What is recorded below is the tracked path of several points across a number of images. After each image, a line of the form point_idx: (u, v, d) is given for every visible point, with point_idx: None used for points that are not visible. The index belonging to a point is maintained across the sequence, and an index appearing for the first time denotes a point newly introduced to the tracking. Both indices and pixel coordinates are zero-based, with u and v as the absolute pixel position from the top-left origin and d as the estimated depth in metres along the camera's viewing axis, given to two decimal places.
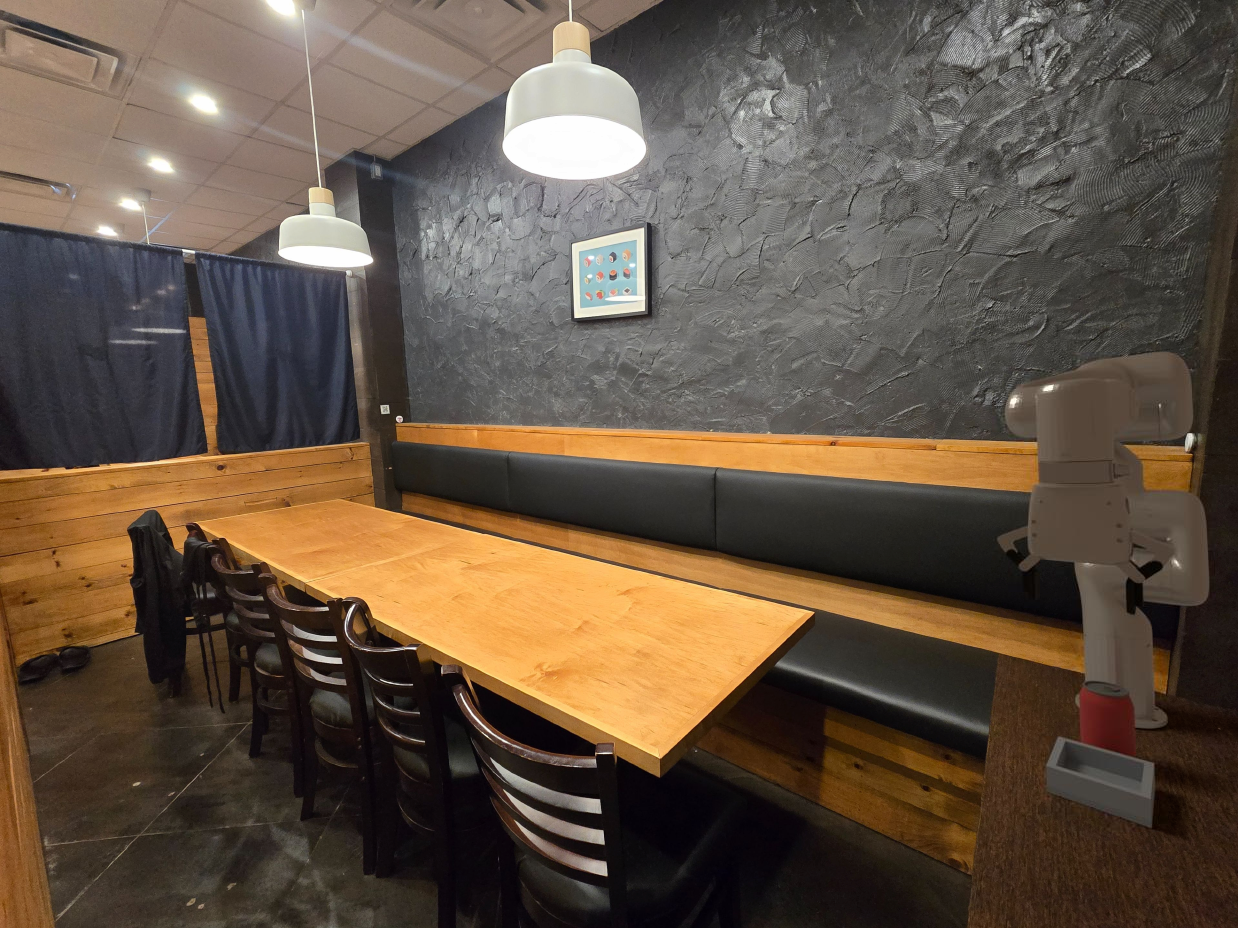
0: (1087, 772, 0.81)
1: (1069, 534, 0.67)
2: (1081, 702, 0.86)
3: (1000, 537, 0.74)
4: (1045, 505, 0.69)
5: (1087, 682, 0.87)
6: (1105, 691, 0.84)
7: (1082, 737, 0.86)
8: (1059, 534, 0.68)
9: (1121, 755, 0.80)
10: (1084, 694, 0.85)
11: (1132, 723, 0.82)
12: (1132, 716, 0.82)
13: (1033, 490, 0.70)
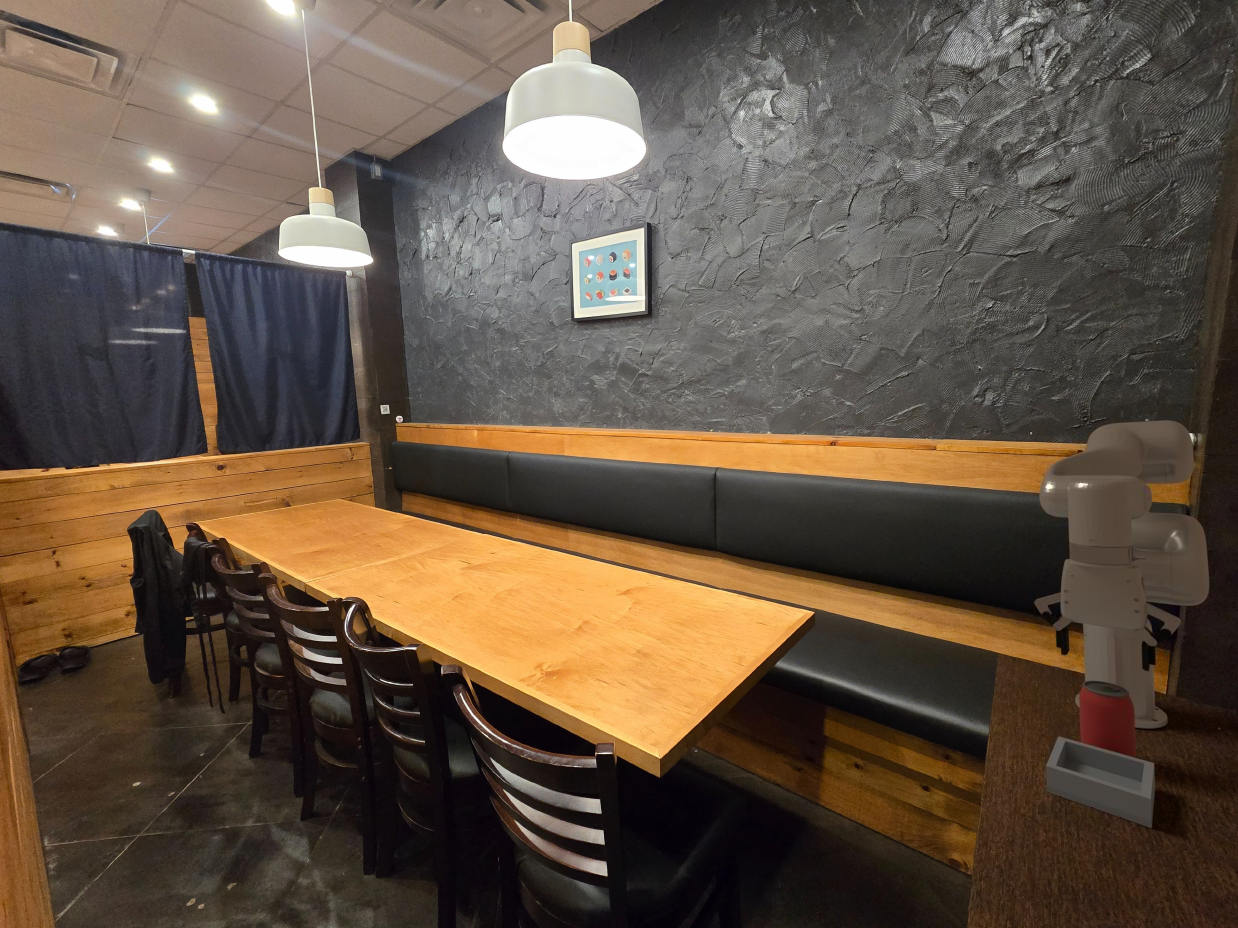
0: (1087, 772, 0.81)
1: (1095, 603, 0.83)
2: (1081, 702, 0.86)
3: (1037, 601, 0.90)
4: (1075, 579, 0.85)
5: (1087, 682, 0.87)
6: (1105, 691, 0.84)
7: (1082, 737, 0.86)
8: (1087, 603, 0.84)
9: (1121, 755, 0.80)
10: (1084, 694, 0.85)
11: (1132, 723, 0.82)
12: (1132, 716, 0.82)
13: (1065, 565, 0.86)
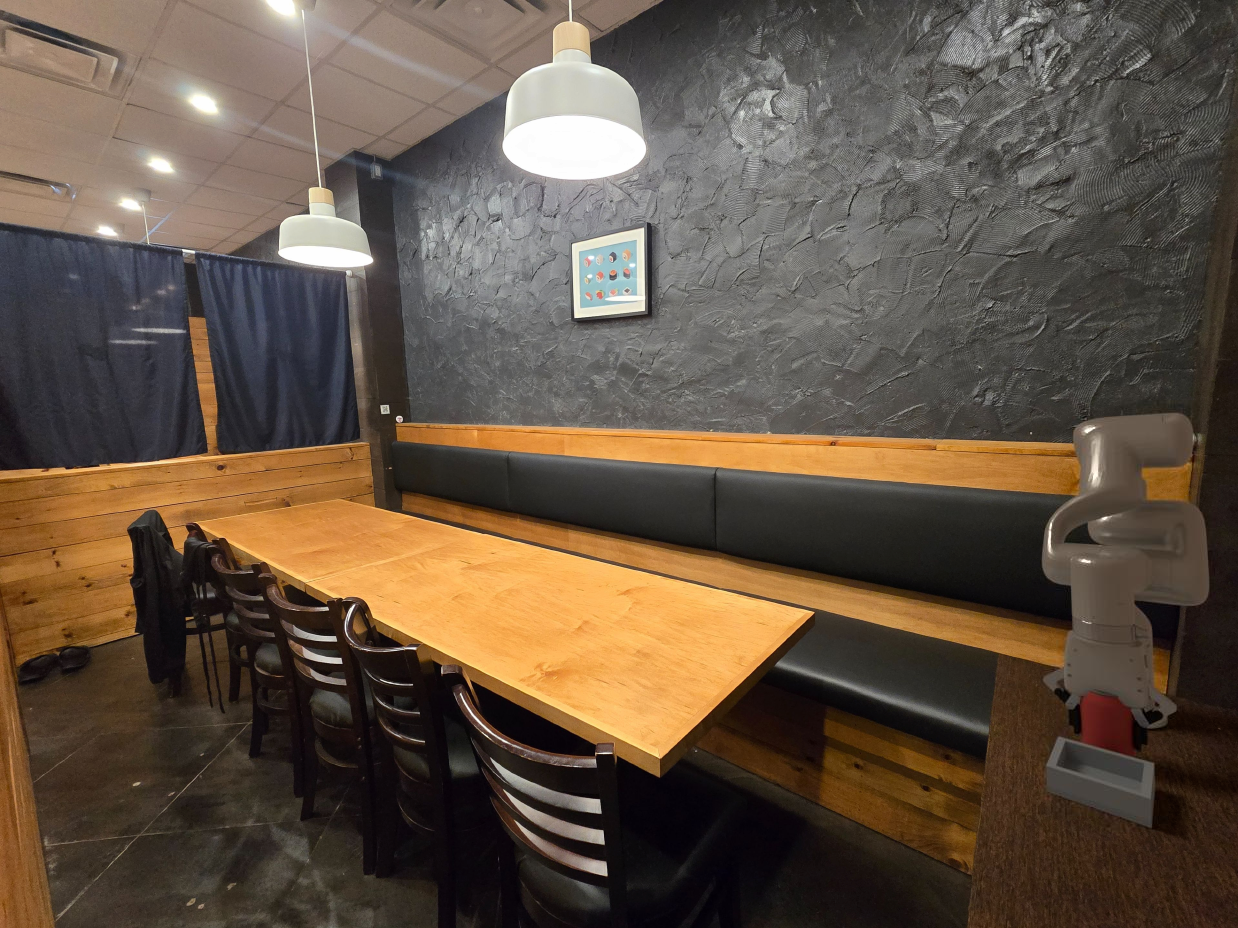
0: (1087, 772, 0.81)
1: (1098, 679, 0.83)
2: (1081, 702, 0.86)
3: (1045, 678, 0.90)
4: (1078, 653, 0.85)
5: None
6: None
7: (1082, 737, 0.86)
8: (1090, 678, 0.84)
9: (1121, 755, 0.80)
10: None
11: (1132, 723, 0.82)
12: (1132, 716, 0.82)
13: (1068, 638, 0.87)
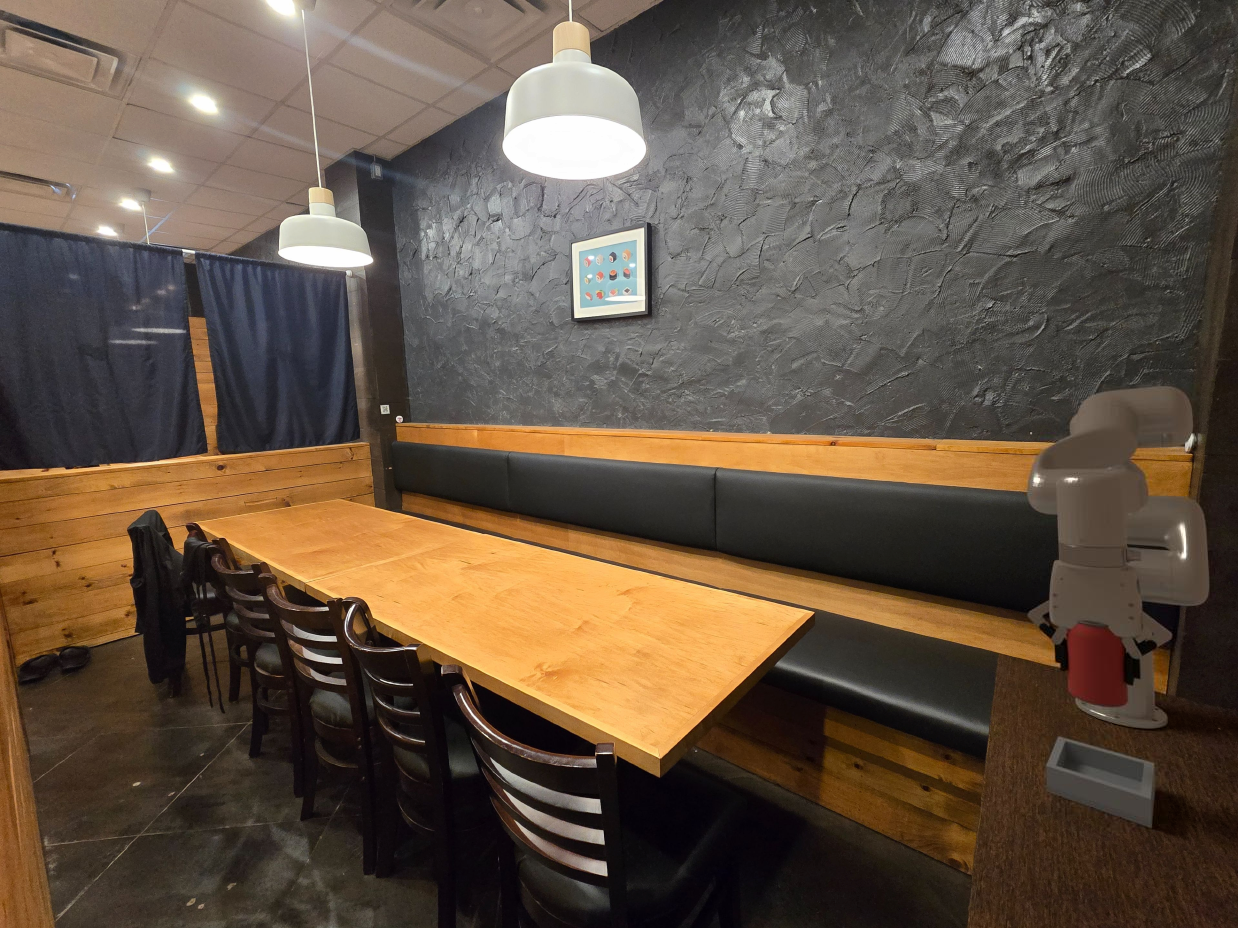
0: (1087, 772, 0.81)
1: (1087, 609, 0.76)
2: (1068, 636, 0.78)
3: (1029, 613, 0.83)
4: (1065, 582, 0.78)
5: None
6: None
7: (1069, 674, 0.79)
8: (1078, 608, 0.77)
9: (1121, 755, 0.80)
10: None
11: (1123, 655, 0.74)
12: (1123, 647, 0.74)
13: (1054, 567, 0.79)
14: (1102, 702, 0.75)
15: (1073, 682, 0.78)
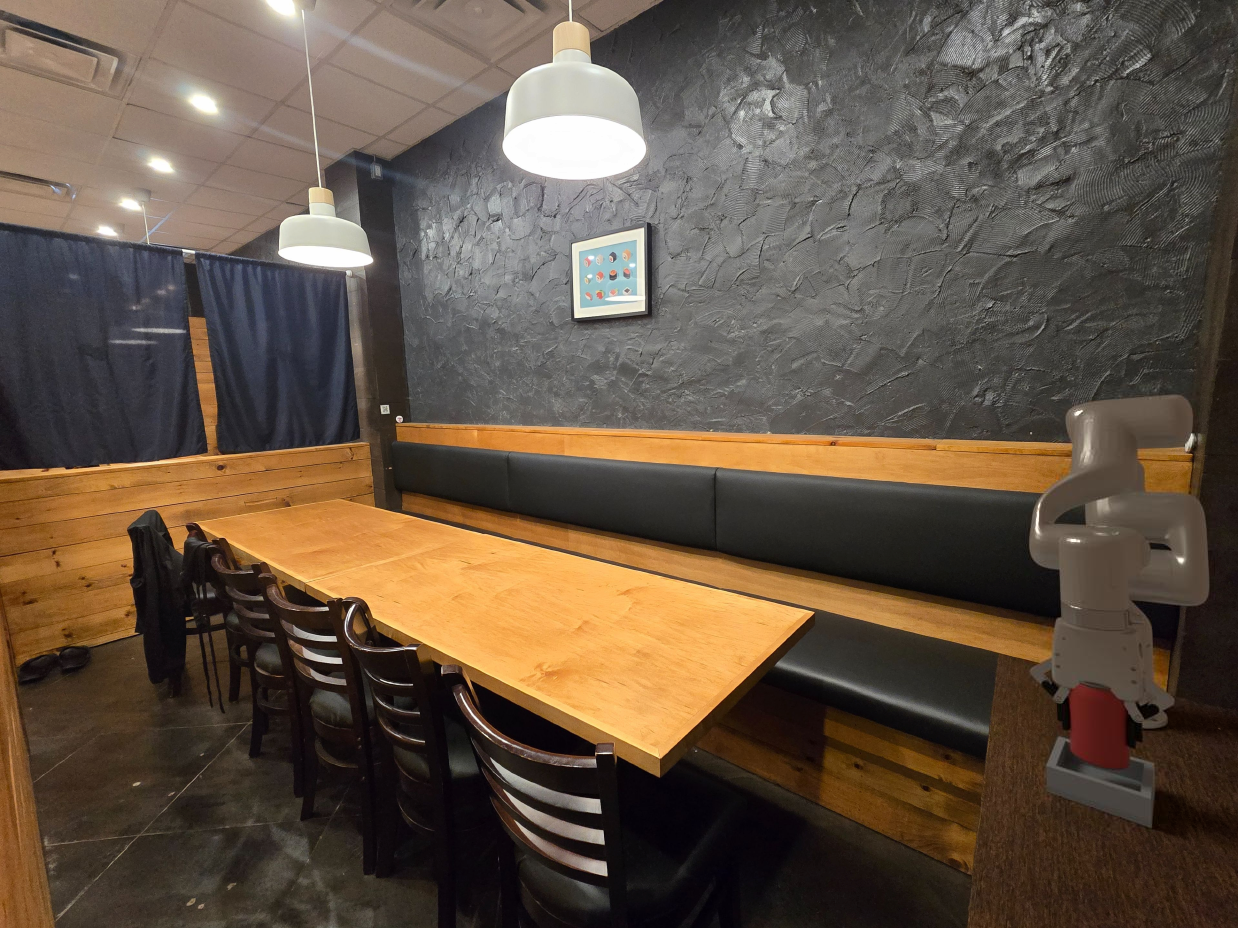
0: (1087, 772, 0.81)
1: (1089, 670, 0.76)
2: (1070, 695, 0.79)
3: (1032, 670, 0.83)
4: (1067, 642, 0.78)
5: None
6: None
7: (1071, 734, 0.79)
8: (1080, 669, 0.77)
9: None
10: None
11: (1125, 718, 0.75)
12: (1125, 710, 0.75)
13: (1056, 626, 0.80)
14: (1104, 765, 0.75)
15: (1075, 742, 0.78)
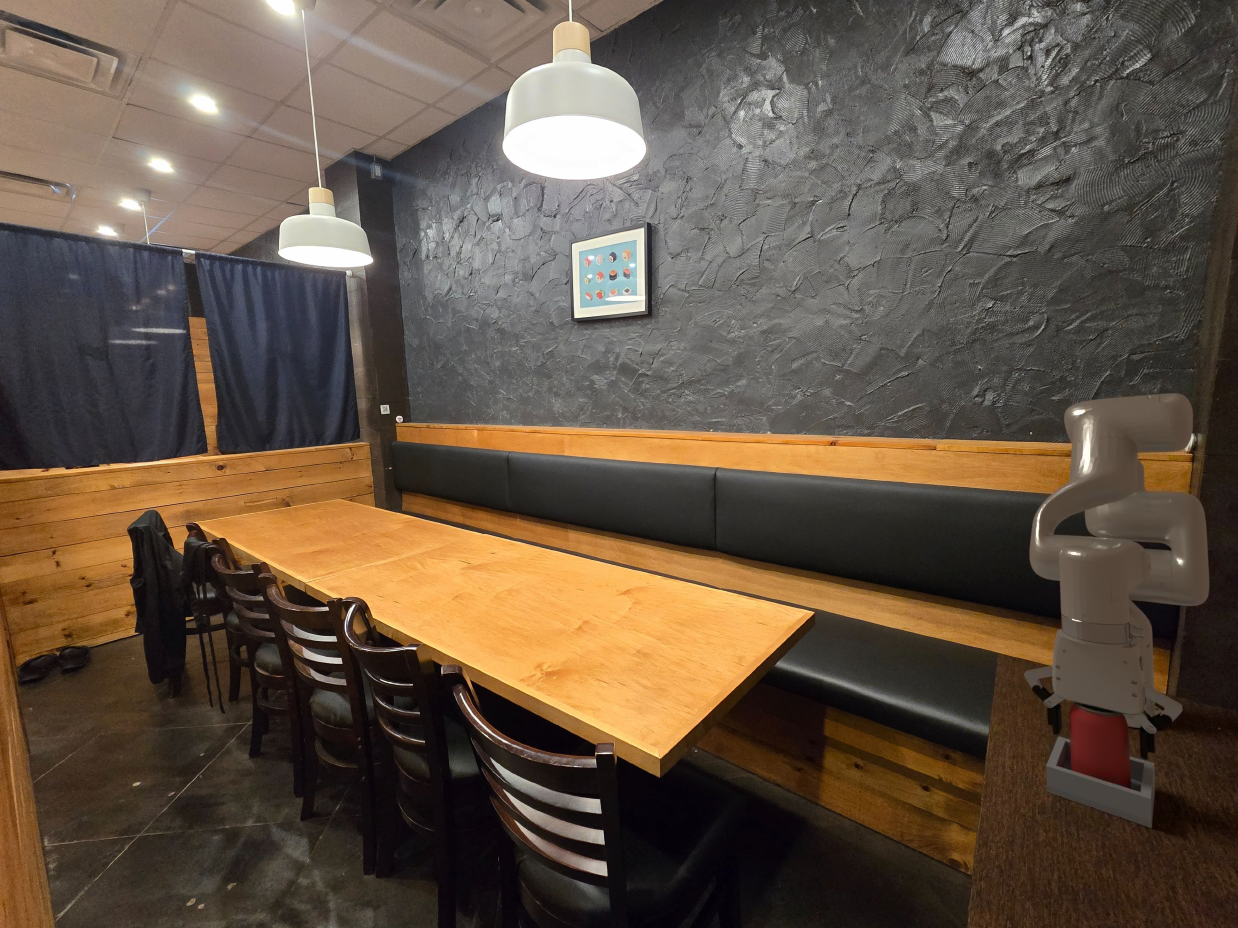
0: None
1: (1089, 683, 0.76)
2: (1071, 720, 0.79)
3: (1027, 673, 0.83)
4: (1068, 654, 0.78)
5: None
6: (1097, 708, 0.77)
7: (1072, 758, 0.79)
8: (1080, 682, 0.77)
9: None
10: (1074, 711, 0.78)
11: (1126, 744, 0.75)
12: (1126, 736, 0.75)
13: (1057, 638, 0.80)
14: None
15: (1076, 767, 0.78)
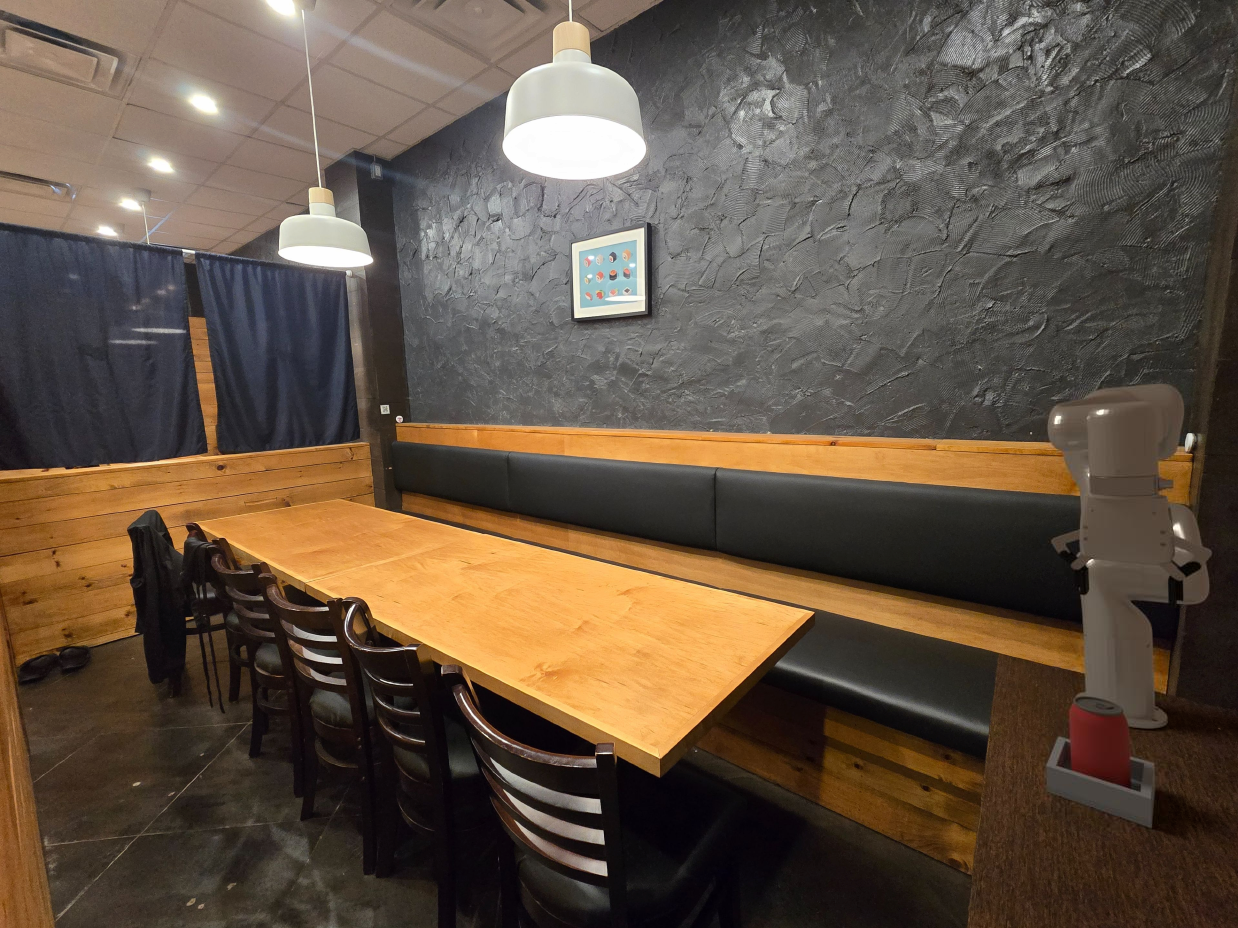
0: None
1: (1117, 538, 0.77)
2: (1071, 720, 0.79)
3: (1054, 540, 0.85)
4: (1095, 513, 0.79)
5: (1078, 698, 0.80)
6: (1097, 708, 0.77)
7: (1072, 758, 0.79)
8: (1108, 539, 0.78)
9: None
10: (1074, 711, 0.78)
11: (1126, 744, 0.75)
12: (1126, 736, 0.75)
13: (1085, 500, 0.80)
14: None
15: (1076, 767, 0.78)
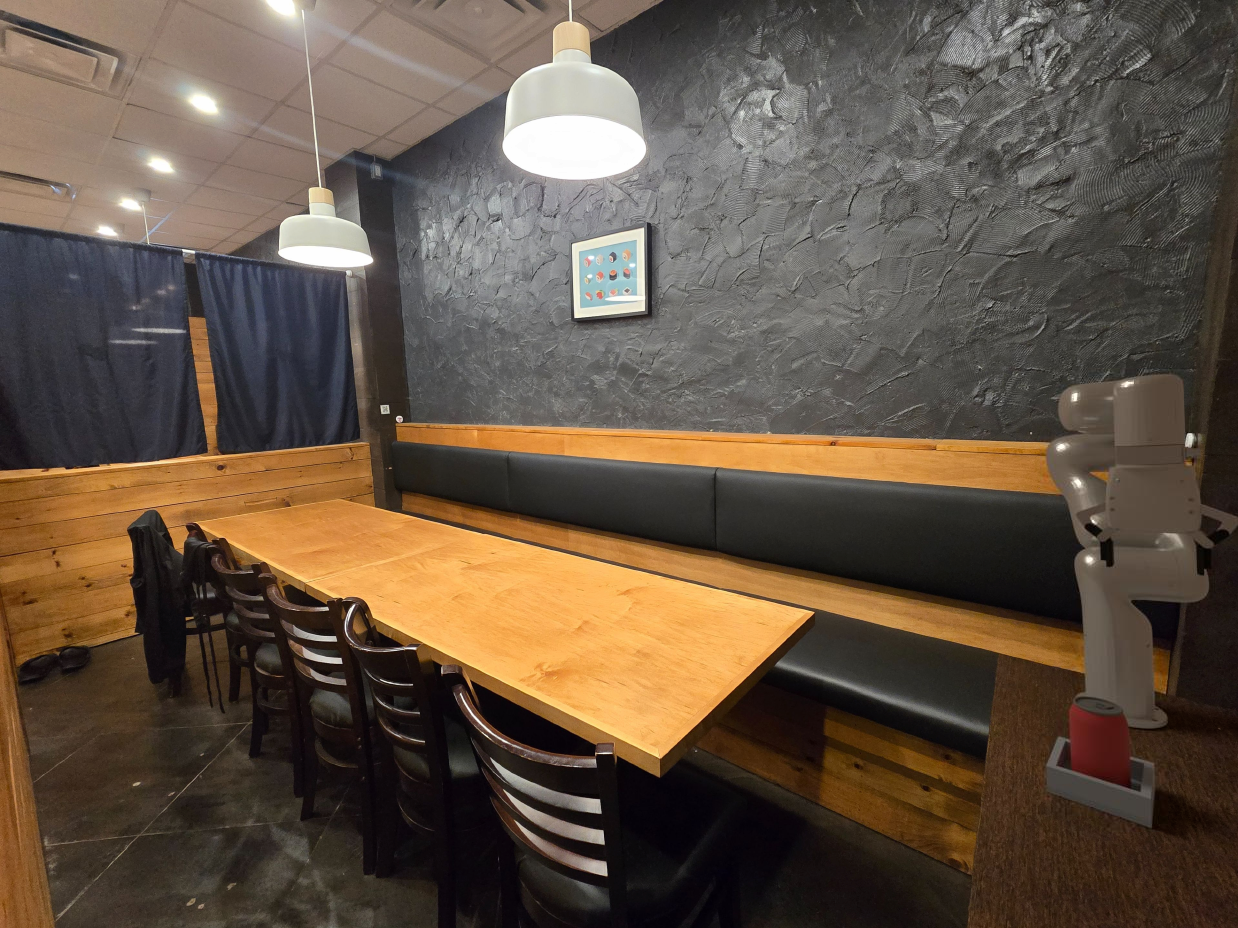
0: None
1: (1145, 508, 0.78)
2: (1071, 720, 0.79)
3: (1079, 513, 0.85)
4: (1122, 484, 0.80)
5: (1078, 698, 0.80)
6: (1097, 708, 0.77)
7: (1072, 758, 0.79)
8: (1136, 508, 0.79)
9: None
10: (1074, 711, 0.78)
11: (1126, 744, 0.75)
12: (1126, 736, 0.75)
13: (1111, 471, 0.81)
14: None
15: (1076, 767, 0.78)
